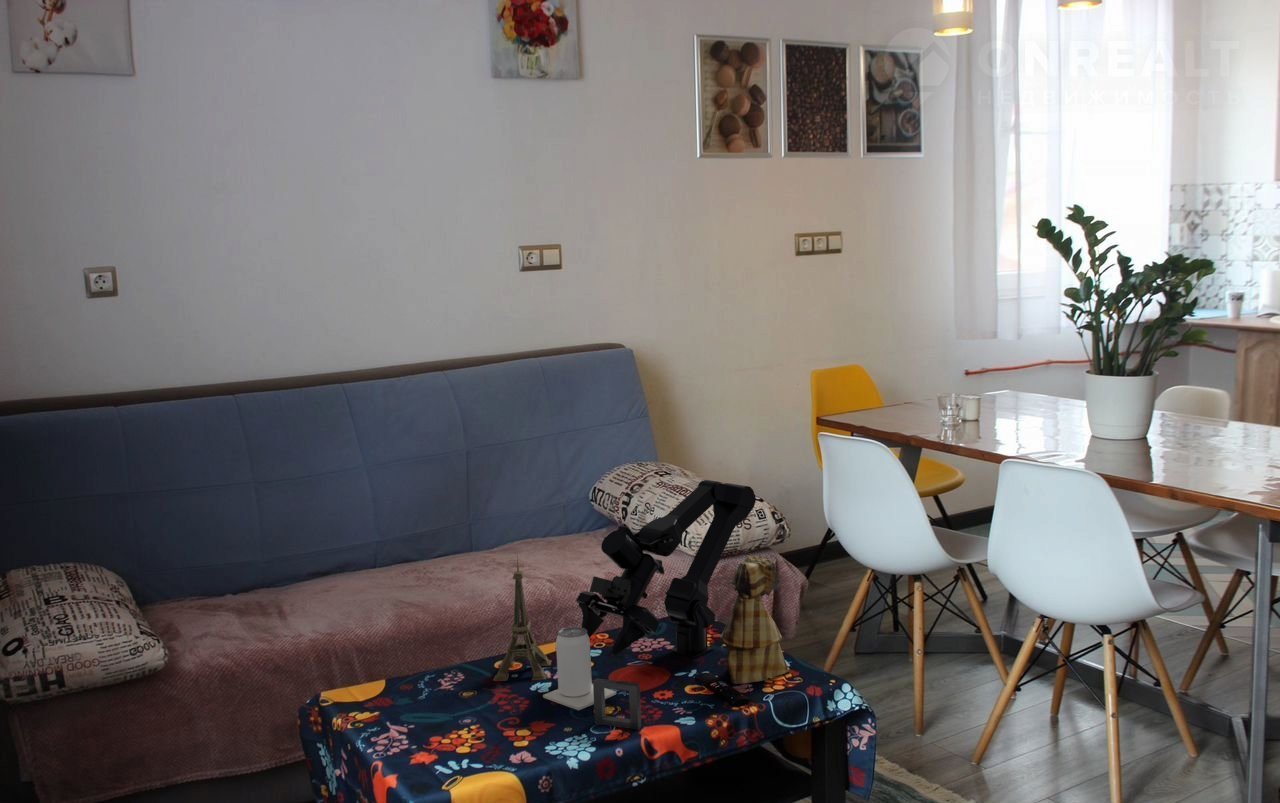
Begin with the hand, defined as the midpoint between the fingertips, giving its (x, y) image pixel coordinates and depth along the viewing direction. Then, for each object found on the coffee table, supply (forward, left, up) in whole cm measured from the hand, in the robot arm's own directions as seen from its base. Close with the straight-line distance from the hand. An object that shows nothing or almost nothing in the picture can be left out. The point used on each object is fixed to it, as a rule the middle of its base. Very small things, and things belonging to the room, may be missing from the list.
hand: (596, 649), depth 223 cm
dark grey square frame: (+10, +15, -8) cm, 20 cm away
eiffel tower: (+3, -19, -8) cm, 21 cm away
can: (+5, -1, -8) cm, 9 cm away
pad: (+5, 0, -8) cm, 9 cm away
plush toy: (-25, +18, -8) cm, 32 cm away
